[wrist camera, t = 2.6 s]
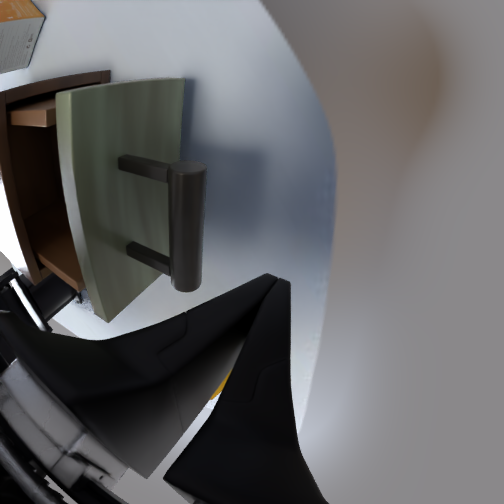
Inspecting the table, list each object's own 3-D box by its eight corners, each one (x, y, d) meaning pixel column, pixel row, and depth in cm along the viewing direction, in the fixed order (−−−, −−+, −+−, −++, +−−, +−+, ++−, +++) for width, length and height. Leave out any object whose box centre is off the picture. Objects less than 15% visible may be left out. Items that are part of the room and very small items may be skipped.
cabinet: (110, 69, 15) (-7, 94, 8) (116, 228, 22) (34, 286, 15) (29, 83, 18) (-42, 107, 12) (39, 191, 26) (-21, 225, 19)
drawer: (263, 86, 11) (158, 89, 6) (235, 283, 18) (171, 363, 13) (56, 84, 16) (-17, 105, 11) (67, 207, 23) (9, 242, 17)
